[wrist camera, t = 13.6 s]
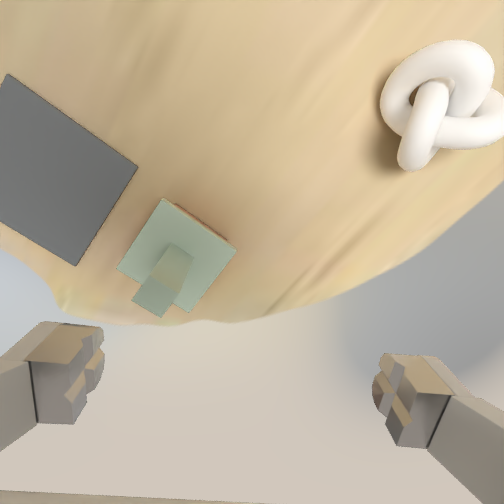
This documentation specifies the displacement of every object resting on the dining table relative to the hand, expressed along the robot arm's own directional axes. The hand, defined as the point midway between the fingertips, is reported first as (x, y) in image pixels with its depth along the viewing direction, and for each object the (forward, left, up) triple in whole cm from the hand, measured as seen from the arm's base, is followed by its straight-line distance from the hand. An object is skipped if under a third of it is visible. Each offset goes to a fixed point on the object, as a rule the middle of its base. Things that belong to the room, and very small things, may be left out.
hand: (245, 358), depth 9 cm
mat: (-20, -13, -31) cm, 39 cm away
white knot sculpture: (+10, +20, -31) cm, 39 cm away
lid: (-2, -10, -27) cm, 28 cm away
